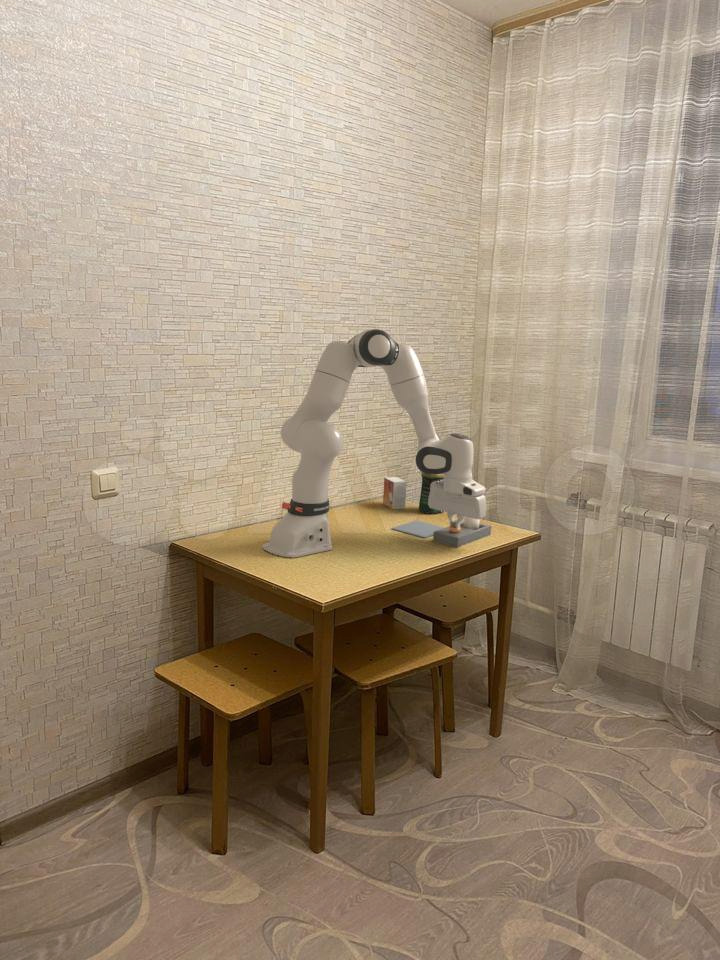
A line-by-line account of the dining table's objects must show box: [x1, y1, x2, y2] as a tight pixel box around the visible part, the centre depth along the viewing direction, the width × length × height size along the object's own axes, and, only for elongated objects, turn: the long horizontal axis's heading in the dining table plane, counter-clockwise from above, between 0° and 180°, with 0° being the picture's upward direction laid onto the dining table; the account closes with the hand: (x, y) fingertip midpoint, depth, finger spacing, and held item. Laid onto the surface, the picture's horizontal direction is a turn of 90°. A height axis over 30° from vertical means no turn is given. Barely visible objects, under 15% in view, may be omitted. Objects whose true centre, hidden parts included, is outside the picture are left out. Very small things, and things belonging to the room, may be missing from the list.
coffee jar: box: [418, 471, 444, 515], centre depth 272 cm, size 10×8×19 cm
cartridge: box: [463, 516, 481, 530], centre depth 246 cm, size 5×5×10 cm
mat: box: [390, 519, 446, 539], centre depth 250 cm, size 14×14×1 cm
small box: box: [382, 476, 408, 510], centre depth 278 cm, size 8×6×10 cm
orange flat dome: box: [448, 525, 461, 533], centre depth 239 cm, size 4×4×1 cm
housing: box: [432, 521, 492, 548], centre depth 243 cm, size 20×9×3 cm, turn 139°
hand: (455, 526), depth 238 cm, fingers closed
